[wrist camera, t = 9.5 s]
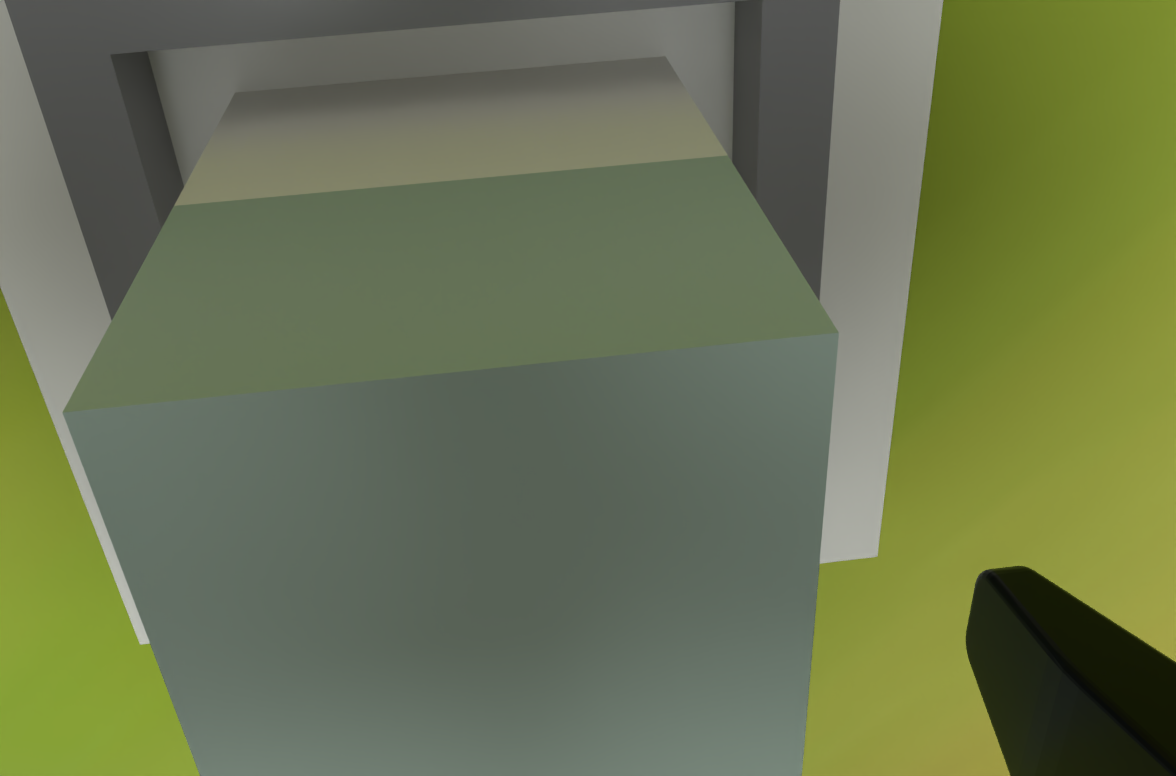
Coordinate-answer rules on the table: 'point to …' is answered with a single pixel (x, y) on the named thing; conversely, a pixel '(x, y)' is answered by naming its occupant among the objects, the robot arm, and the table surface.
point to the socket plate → (453, 46)
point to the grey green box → (470, 436)
